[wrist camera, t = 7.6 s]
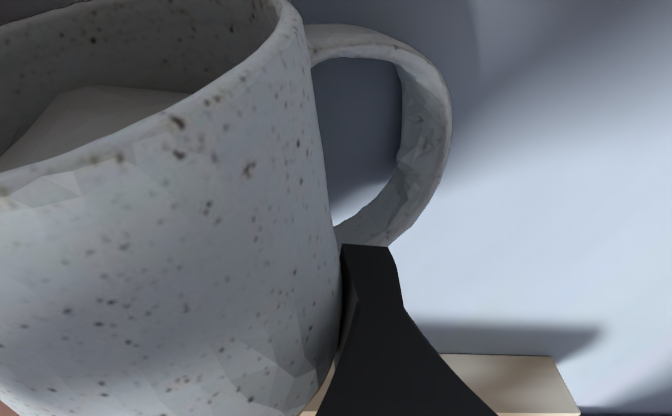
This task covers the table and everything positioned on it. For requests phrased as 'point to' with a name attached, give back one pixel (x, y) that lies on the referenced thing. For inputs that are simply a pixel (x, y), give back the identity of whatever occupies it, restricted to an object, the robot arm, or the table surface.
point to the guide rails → (501, 384)
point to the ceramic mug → (184, 205)
